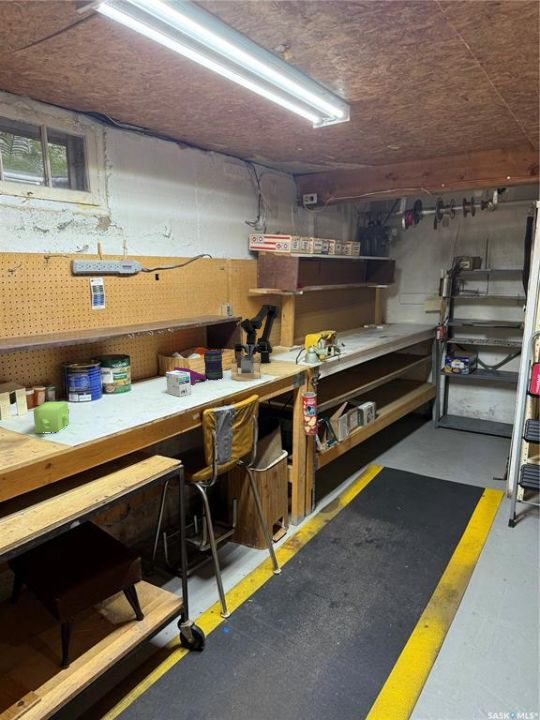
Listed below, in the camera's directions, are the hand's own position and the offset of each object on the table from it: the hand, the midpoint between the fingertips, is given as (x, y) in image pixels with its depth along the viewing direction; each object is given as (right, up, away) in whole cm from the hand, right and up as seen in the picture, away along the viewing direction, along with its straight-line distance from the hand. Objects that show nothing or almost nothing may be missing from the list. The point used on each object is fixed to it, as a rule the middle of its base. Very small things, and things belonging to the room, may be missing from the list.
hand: (249, 358), depth 270 cm
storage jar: (-19, -11, -15) cm, 26 cm away
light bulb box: (-32, -17, -47) cm, 59 cm away
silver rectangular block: (-1, -9, -9) cm, 13 cm away
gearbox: (-69, -27, -96) cm, 121 cm away
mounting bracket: (-30, -13, -24) cm, 40 cm away
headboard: (-1, -11, -21) cm, 24 cm away
